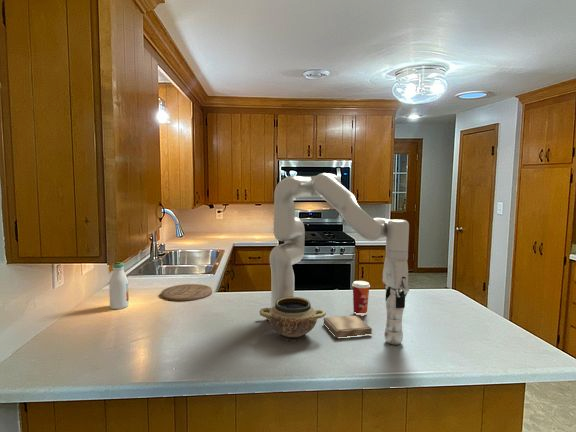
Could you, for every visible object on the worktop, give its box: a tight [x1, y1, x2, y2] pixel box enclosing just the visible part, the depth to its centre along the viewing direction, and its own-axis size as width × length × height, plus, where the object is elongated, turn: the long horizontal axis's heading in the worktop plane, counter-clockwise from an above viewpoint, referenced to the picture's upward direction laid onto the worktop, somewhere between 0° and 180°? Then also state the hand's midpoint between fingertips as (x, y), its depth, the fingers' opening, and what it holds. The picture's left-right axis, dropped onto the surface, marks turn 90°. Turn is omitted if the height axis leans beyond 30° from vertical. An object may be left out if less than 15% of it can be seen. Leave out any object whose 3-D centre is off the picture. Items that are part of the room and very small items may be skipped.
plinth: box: [323, 314, 373, 338], centre depth 141 cm, size 14×14×3 cm
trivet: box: [160, 283, 213, 302], centre depth 186 cm, size 25×25×2 cm
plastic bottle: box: [383, 288, 405, 346], centre depth 129 cm, size 6×7×20 cm
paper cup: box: [351, 280, 371, 313], centre depth 159 cm, size 8×8×14 cm
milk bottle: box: [108, 262, 130, 310], centre depth 164 cm, size 8×8×20 cm
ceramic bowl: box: [259, 296, 327, 341], centre depth 135 cm, size 24×18×15 cm
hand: (394, 304), depth 129 cm, fingers closed on plastic bottle, 6 cm apart
